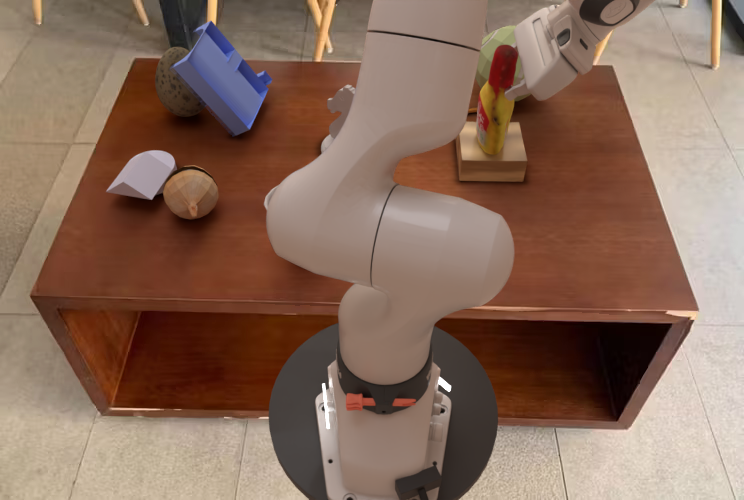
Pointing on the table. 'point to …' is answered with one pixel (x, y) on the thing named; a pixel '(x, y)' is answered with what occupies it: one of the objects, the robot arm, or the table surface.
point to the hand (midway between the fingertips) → (503, 80)
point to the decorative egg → (176, 86)
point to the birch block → (491, 156)
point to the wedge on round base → (144, 175)
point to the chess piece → (343, 105)
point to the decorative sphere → (487, 52)
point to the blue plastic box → (223, 79)
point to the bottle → (496, 101)
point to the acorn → (190, 192)
